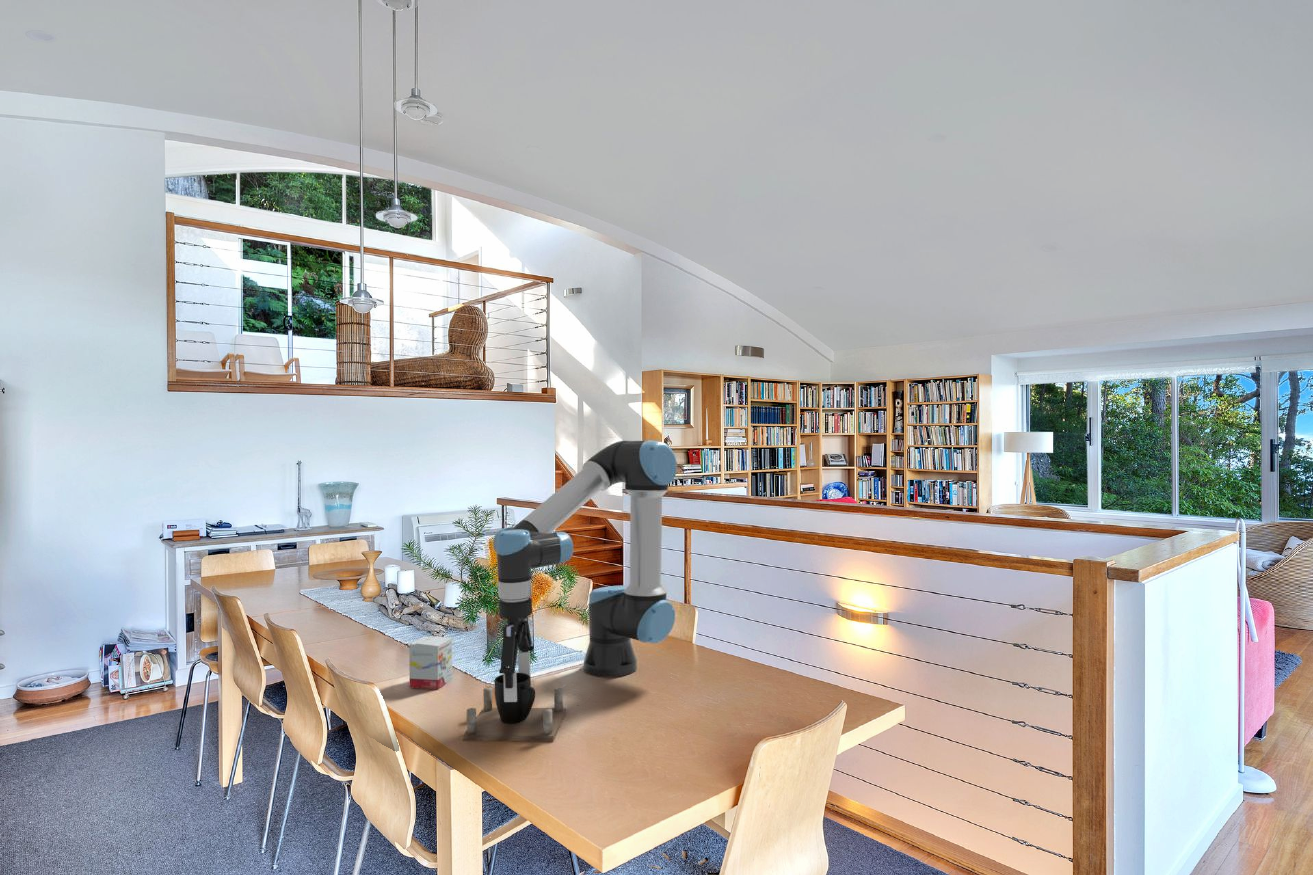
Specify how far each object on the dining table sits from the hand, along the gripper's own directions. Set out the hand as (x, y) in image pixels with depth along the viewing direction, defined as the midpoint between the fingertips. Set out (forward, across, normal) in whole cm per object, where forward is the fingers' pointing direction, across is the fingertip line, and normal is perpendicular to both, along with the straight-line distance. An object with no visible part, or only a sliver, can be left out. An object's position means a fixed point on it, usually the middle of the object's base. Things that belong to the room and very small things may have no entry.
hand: (517, 690), depth 169 cm
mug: (+7, +1, 0) cm, 7 cm away
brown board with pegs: (+8, 0, 0) cm, 8 cm away
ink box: (+8, -28, -30) cm, 42 cm away
